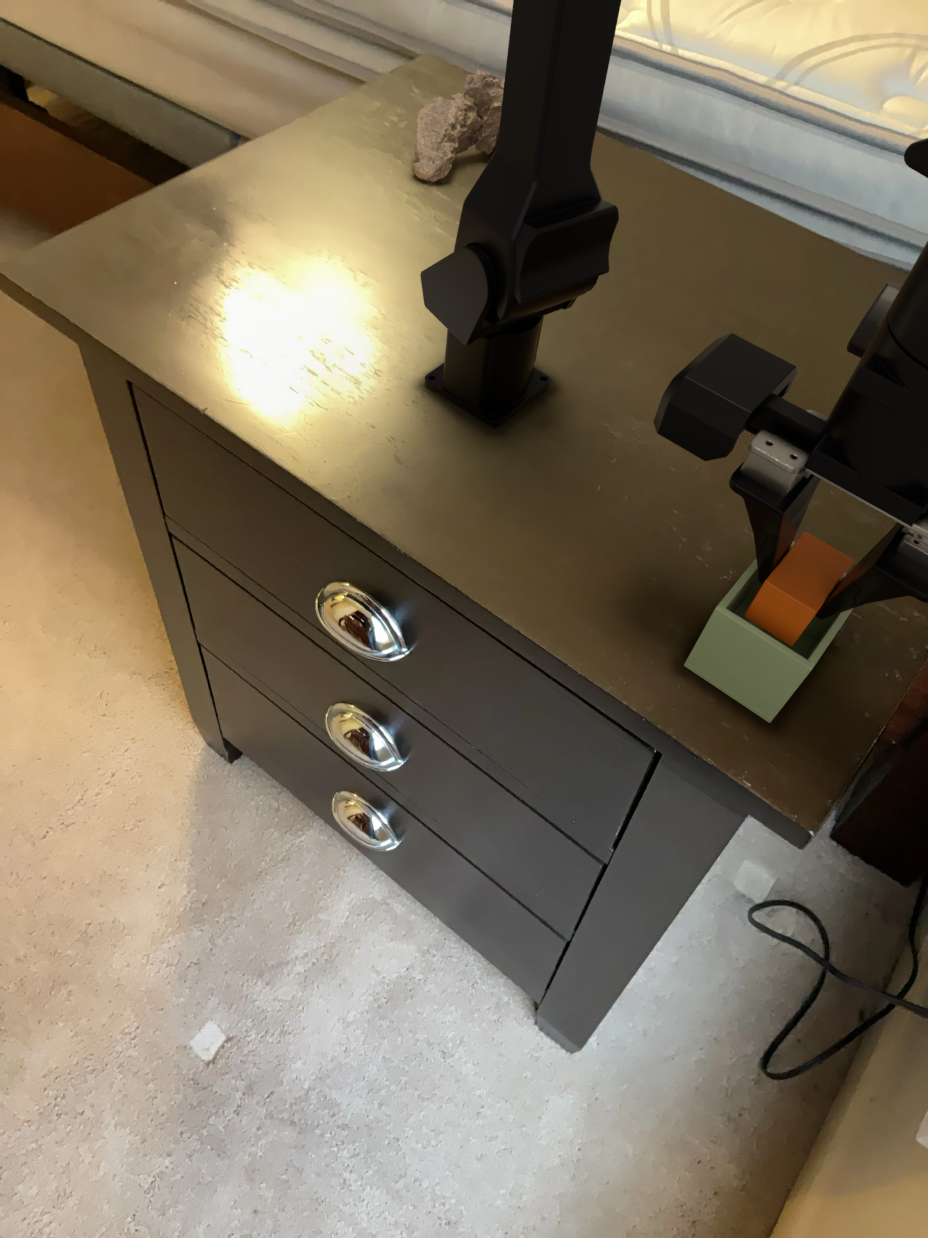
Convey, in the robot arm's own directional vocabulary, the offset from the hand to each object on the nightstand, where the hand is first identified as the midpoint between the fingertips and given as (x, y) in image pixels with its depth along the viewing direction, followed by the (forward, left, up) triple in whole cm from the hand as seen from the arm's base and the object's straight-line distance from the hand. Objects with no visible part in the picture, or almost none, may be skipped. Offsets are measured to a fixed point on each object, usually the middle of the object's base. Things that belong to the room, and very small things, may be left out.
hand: (793, 595), depth 44 cm
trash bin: (0, 0, -5) cm, 5 cm away
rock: (+31, +44, -6) cm, 54 cm away
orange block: (0, 0, -1) cm, 1 cm away
